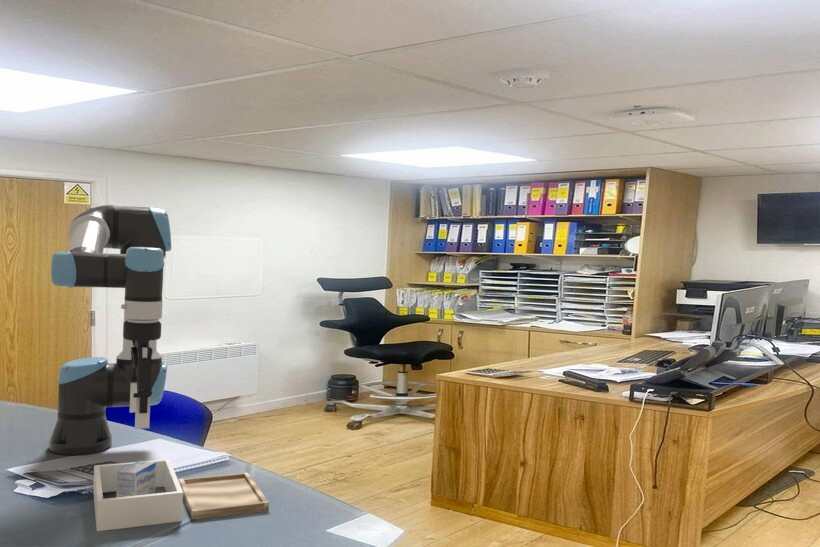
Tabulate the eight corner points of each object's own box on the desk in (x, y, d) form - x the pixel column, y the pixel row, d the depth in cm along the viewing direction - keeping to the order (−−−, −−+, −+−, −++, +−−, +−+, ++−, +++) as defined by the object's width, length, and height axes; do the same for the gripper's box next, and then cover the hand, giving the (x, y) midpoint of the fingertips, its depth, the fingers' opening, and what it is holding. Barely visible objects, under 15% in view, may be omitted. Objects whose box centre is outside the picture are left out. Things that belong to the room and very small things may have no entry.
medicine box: (134, 514, 147) (135, 473, 146) (115, 511, 148) (116, 471, 147) (155, 500, 154) (156, 462, 154) (137, 498, 155) (138, 459, 155)
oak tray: (178, 486, 163) (178, 478, 163) (247, 479, 170) (247, 472, 170) (192, 519, 145) (192, 511, 145) (268, 510, 152) (268, 502, 152)
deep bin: (93, 491, 157) (94, 465, 157) (168, 484, 164) (169, 459, 164) (96, 531, 138) (97, 501, 137) (182, 521, 145) (183, 492, 144)
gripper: (119, 313, 158) (116, 406, 159) (128, 328, 136) (124, 437, 137) (154, 313, 162) (151, 405, 163) (168, 328, 139) (164, 434, 140)
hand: (139, 419), depth 150 cm, fingers open, 13 cm apart
